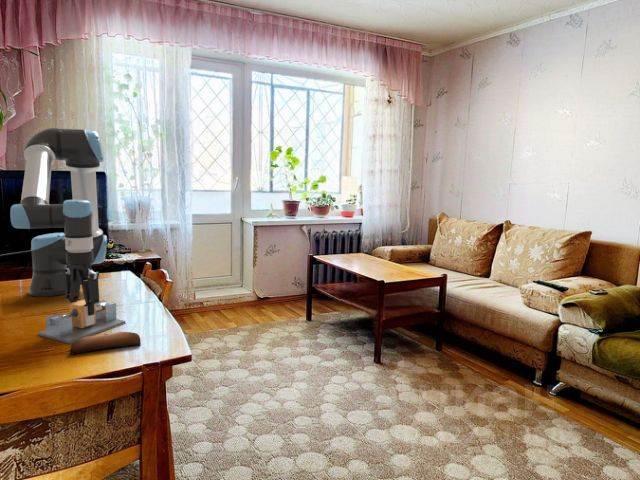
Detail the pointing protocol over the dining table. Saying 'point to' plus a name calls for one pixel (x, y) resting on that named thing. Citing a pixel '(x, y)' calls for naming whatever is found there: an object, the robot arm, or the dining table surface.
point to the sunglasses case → (104, 342)
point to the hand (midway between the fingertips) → (83, 323)
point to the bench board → (85, 330)
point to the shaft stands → (62, 323)
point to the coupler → (79, 313)
